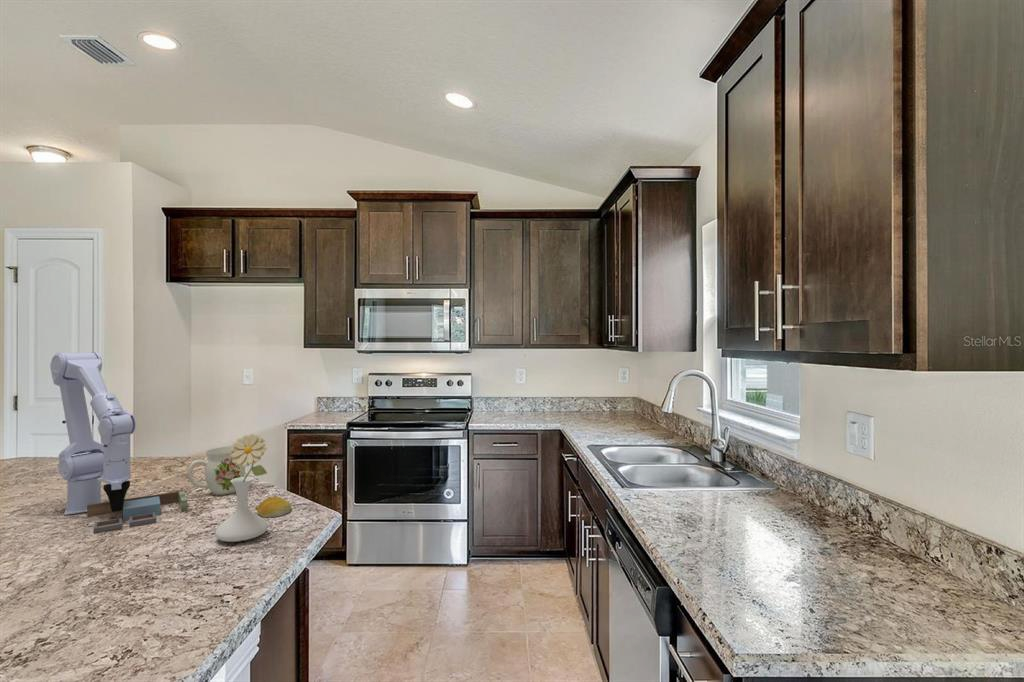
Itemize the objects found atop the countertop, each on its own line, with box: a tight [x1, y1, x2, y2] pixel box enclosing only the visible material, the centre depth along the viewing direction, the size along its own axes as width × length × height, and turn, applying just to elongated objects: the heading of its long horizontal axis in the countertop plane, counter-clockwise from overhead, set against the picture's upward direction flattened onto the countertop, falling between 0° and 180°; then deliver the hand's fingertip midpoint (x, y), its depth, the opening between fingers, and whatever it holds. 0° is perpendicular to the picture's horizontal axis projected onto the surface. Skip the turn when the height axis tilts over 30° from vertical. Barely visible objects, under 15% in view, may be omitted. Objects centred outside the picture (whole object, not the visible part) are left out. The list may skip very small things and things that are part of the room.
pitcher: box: [187, 445, 246, 496], centre depth 158 cm, size 11×18×14 cm, turn 131°
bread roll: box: [256, 496, 292, 518], centre depth 139 cm, size 8×9×4 cm
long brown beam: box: [86, 490, 188, 518], centre depth 139 cm, size 12×22×3 cm, turn 127°
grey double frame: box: [93, 512, 157, 535], centre depth 130 cm, size 6×12×1 cm, turn 127°
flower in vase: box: [214, 433, 270, 543], centre depth 122 cm, size 13×11×25 cm
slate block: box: [122, 496, 161, 522], centre depth 138 cm, size 8×8×4 cm
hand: (116, 510), depth 136 cm, fingers closed
